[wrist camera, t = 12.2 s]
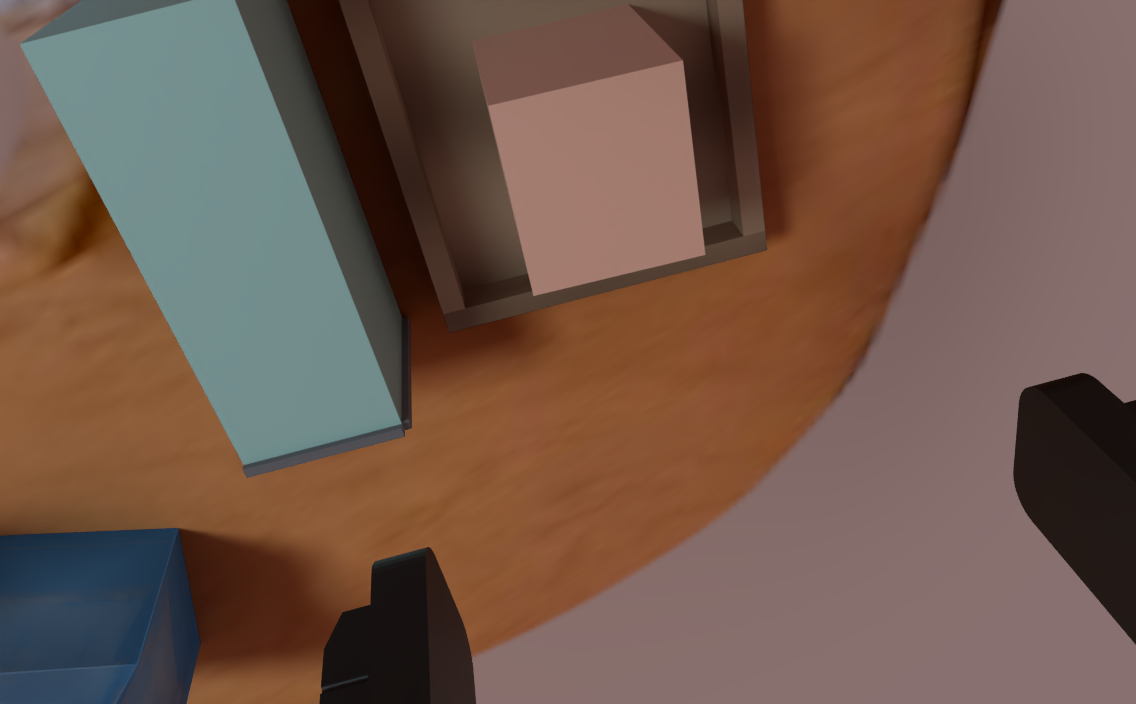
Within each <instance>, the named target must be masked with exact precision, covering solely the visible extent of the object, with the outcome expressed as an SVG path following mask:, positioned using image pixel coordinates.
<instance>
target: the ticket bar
mask: <svg viewBox="0 0 1136 704" xmlns="http://www.w3.org/2000/svg"><path fill="white" fill-rule="evenodd" d="M20 46H21V48H22V50H23V52H24V54H25V55H26V57H27V59H28V61H29V63H30V65H31V67H32V69H33V70H34V72H35V74H36V76H37V78H38V80H39V82H40V84H41V85H42V87H43V89H44V91H45V93H46V95H47V97H48V99H49V100H50V102H51V104H52V106H53V108H54V110H55V112H56V114H57V115H58V117H59V119H60V121H61V123H62V125H63V127H64V129H65V131H66V132H67V134H68V136H69V138H70V140H71V142H72V144H73V146H74V147H75V149H76V151H77V153H78V155H79V157H80V159H81V161H82V162H83V164H84V166H85V168H86V170H87V172H88V174H89V176H90V177H91V179H92V181H93V183H94V185H95V187H96V189H97V191H98V192H99V194H100V196H101V198H102V200H103V202H104V204H105V206H106V207H107V209H108V211H109V213H110V215H111V217H112V219H113V221H114V223H115V224H116V226H117V228H118V230H119V232H120V234H121V236H122V238H123V239H124V241H125V243H126V245H127V247H128V249H129V251H130V253H131V254H132V256H133V258H134V260H135V262H136V264H137V266H138V268H139V269H140V271H141V273H142V275H143V277H144V279H145V281H146V283H147V284H148V286H149V288H150V290H151V292H152V294H153V296H154V298H155V299H156V301H157V303H158V305H159V307H160V309H161V311H162V313H163V315H164V316H165V318H166V320H167V322H168V324H169V326H170V328H171V330H172V331H173V333H174V335H175V337H176V339H177V341H178V343H179V345H180V346H181V348H182V350H183V352H184V354H185V356H186V358H187V360H188V361H189V363H190V365H191V367H192V369H193V371H194V373H195V375H196V376H197V378H198V380H199V382H200V384H201V386H202V388H203V390H204V391H205V393H206V395H207V397H208V399H209V401H210V403H211V405H212V406H213V408H214V410H215V412H216V414H217V416H218V418H219V420H220V422H221V423H222V425H223V427H224V429H225V431H226V433H227V435H228V437H229V438H230V440H231V442H232V444H233V446H234V448H235V450H236V452H237V453H238V455H239V457H240V459H241V461H242V463H243V465H244V466H243V471H244V473H245V475H246V477H247V478H248V477H252V476H256V475H259V474H263V473H267V472H271V471H275V470H279V469H282V468H286V467H290V466H294V465H298V464H302V463H305V462H309V461H313V460H317V459H321V458H324V457H328V456H332V455H336V454H340V453H344V452H347V451H351V450H355V449H359V448H363V447H367V446H370V445H374V444H378V443H382V442H386V441H389V440H393V439H397V438H401V437H405V430H407V429H411V428H412V409H411V327H410V322H409V319H408V317H406V318H402V316H401V313H400V310H399V308H398V305H397V302H396V299H395V297H394V294H393V291H392V288H391V286H390V283H389V280H388V277H387V275H386V272H385V269H384V266H383V263H382V261H381V258H380V255H379V252H378V250H377V247H376V244H375V241H374V239H373V236H372V233H371V230H370V228H369V225H368V222H367V219H366V217H365V214H364V211H363V208H362V206H361V203H360V200H359V197H358V195H357V192H356V189H355V186H354V184H353V181H352V178H351V175H350V173H349V170H348V167H347V164H346V162H345V159H344V156H343V153H342V151H341V148H340V145H339V142H338V140H337V137H336V134H335V131H334V129H333V126H332V123H331V120H330V118H329V115H328V112H327V109H326V107H325V104H324V101H323V98H322V96H321V93H320V90H319V87H318V85H317V82H316V79H315V76H314V74H313V71H312V68H311V65H310V62H309V60H308V57H307V54H306V51H305V49H304V46H303V43H302V40H301V38H300V35H299V32H298V29H297V27H296V24H295V21H294V18H293V16H292V13H291V10H290V7H289V5H288V2H287V0H82V1H80V2H79V3H77V4H76V5H75V6H73V7H72V8H70V9H69V10H67V11H66V12H65V13H63V14H62V15H60V16H59V17H57V18H56V19H55V20H53V21H52V22H50V23H49V24H47V25H46V26H45V27H43V28H42V29H40V30H39V31H37V32H36V33H35V34H33V35H32V36H30V37H29V38H27V39H26V40H25V41H23V42H22V43H20Z"/></svg>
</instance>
